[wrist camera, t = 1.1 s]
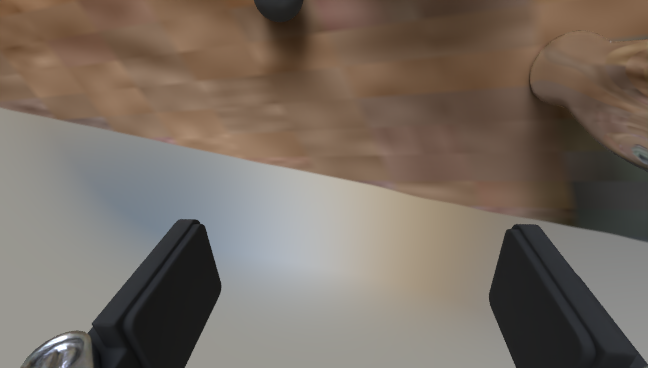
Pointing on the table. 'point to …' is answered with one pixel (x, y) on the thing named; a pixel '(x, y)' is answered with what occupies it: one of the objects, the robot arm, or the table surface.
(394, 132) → the table surface
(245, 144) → the table surface
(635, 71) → the beer glass
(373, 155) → the table surface
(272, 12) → the ball
